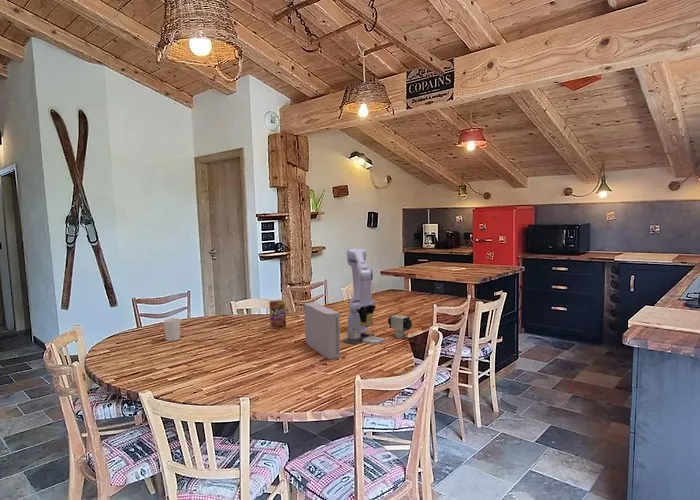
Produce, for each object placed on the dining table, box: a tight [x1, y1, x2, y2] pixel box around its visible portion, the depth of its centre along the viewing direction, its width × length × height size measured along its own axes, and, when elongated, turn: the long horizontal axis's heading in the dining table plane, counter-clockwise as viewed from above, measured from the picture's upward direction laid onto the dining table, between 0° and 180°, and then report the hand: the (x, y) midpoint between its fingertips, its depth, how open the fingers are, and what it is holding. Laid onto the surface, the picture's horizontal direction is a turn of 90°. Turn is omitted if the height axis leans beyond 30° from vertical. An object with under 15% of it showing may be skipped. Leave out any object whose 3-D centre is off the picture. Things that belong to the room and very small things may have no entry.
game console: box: [303, 301, 341, 360], centre depth 209 cm, size 6×27×20 cm, turn 27°
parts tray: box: [361, 335, 386, 346], centre depth 221 cm, size 8×8×2 cm
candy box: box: [269, 299, 287, 330], centre depth 251 cm, size 9×4×15 cm, turn 98°
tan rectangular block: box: [360, 312, 373, 328], centre depth 224 cm, size 4×4×6 cm
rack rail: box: [342, 331, 375, 346], centre depth 225 cm, size 7×17×2 cm, turn 143°
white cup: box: [163, 317, 181, 342], centre depth 233 cm, size 8×8×10 cm
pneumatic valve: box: [387, 313, 413, 339], centre depth 228 cm, size 6×12×12 cm, turn 46°
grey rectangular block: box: [346, 328, 361, 341], centre depth 222 cm, size 4×4×6 cm
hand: (366, 321), depth 224 cm, fingers closed on tan rectangular block, 4 cm apart
